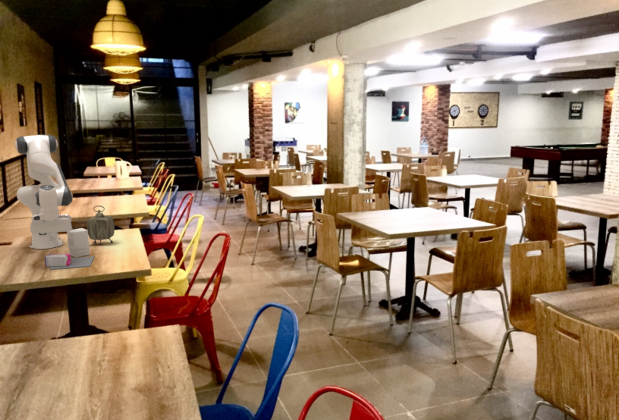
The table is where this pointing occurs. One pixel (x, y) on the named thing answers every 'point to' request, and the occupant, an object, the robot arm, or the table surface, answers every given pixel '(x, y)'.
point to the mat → (76, 263)
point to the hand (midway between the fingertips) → (52, 240)
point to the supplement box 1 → (57, 260)
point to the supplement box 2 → (78, 242)
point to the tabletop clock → (100, 227)
